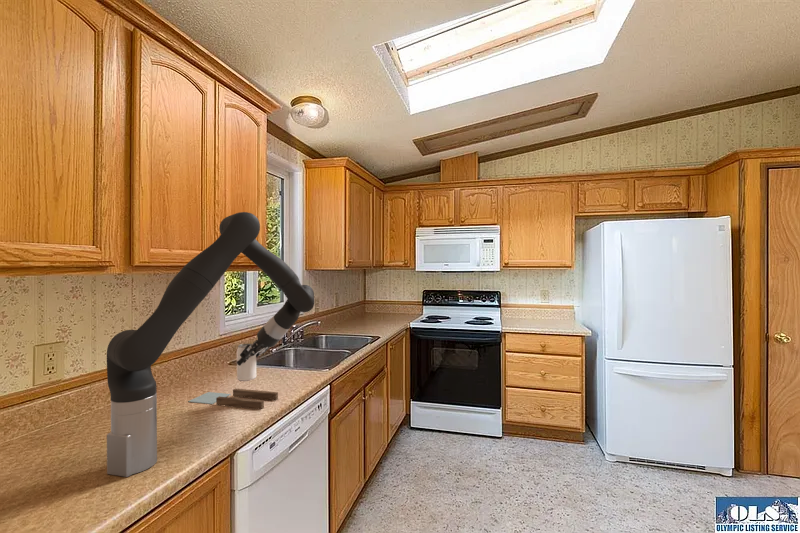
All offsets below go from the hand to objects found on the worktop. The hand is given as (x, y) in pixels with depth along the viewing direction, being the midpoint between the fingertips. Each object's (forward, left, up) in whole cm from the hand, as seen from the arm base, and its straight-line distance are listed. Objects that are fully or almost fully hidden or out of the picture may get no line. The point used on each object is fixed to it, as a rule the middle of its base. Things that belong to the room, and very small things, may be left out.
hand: (244, 362), depth 135 cm
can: (0, -1, -6) cm, 6 cm away
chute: (0, -1, -14) cm, 14 cm away
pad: (0, +15, -14) cm, 21 cm away
